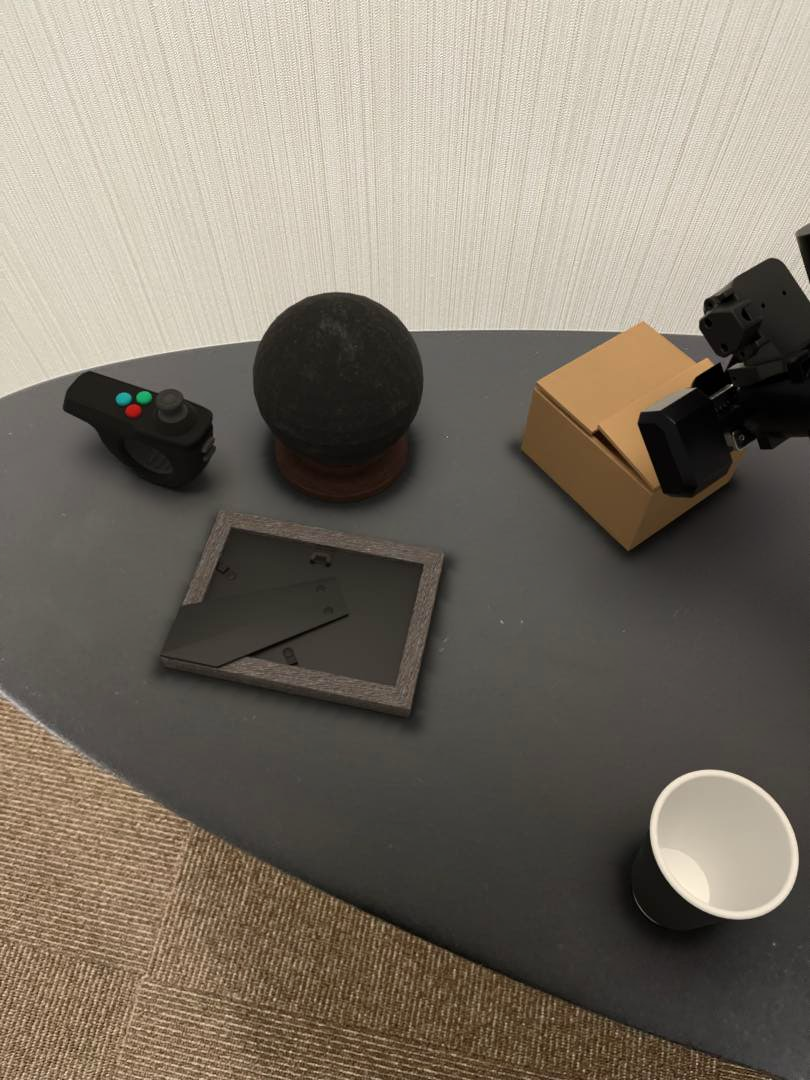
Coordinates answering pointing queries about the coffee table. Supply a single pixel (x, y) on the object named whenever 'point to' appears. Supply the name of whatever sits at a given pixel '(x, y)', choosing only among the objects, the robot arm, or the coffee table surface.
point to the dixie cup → (714, 853)
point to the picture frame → (308, 612)
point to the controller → (145, 427)
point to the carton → (586, 454)
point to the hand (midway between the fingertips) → (670, 403)
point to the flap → (625, 427)
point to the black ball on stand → (338, 394)
